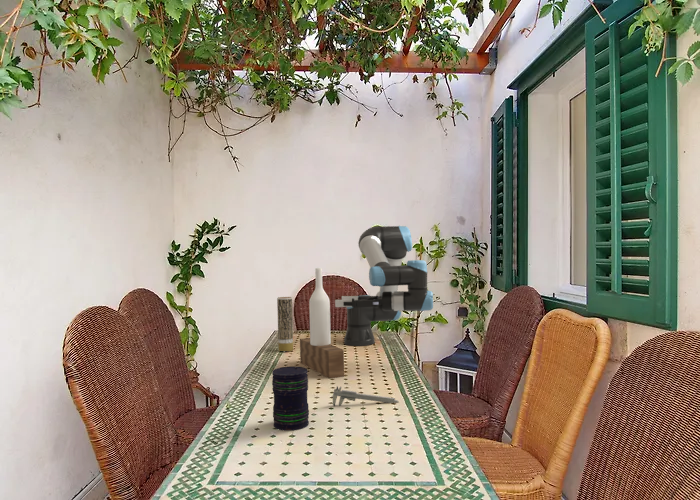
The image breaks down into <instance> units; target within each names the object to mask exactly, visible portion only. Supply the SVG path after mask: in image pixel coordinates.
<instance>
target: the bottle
mask: <svg viewBox="0 0 700 500" xmlns="http://www.w3.org/2000/svg"><path fill="white" fill-rule="evenodd" d="M314 271H315V289H314V290H313V292H312V294H311V296H310V298H309V300H308V301H309V303H308V304H309V311H308V312H309V338H310V344H311V345H314V346H325V345H329V344H331V338H332V337H331V301H330V297H329V296H328V294H327V293H326V291H325V290H324V286H323V268H322V267H317V268H315V270H314ZM331 345H332V344H331Z"/></svg>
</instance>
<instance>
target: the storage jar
mask: <svg viewBox="0 0 700 500" xmlns="http://www.w3.org/2000/svg"><path fill="white" fill-rule="evenodd" d="M271 374H272V375H271V376H272V381H271V384H272V389H271V390H272V393H273V406H272V411H273V412H272V417H273V428H274V427H275V428H274V429H277V430H278V429H279V431H283V430H284V432H286V431H287V432H290V431H291V432H293V431H299V430H303V429H305V428H308V426H309V425H310V424H309V422H310V421H309V417H310V416H309V415H310V409H309V408H310V407H309V403H308V391H309V378H308V376H309V375H308V369H307V368H306V367H303V366H295V365H293V366H292V365H290V366H282V367H278V368H275V369H273V370H272V373H271Z"/></svg>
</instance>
